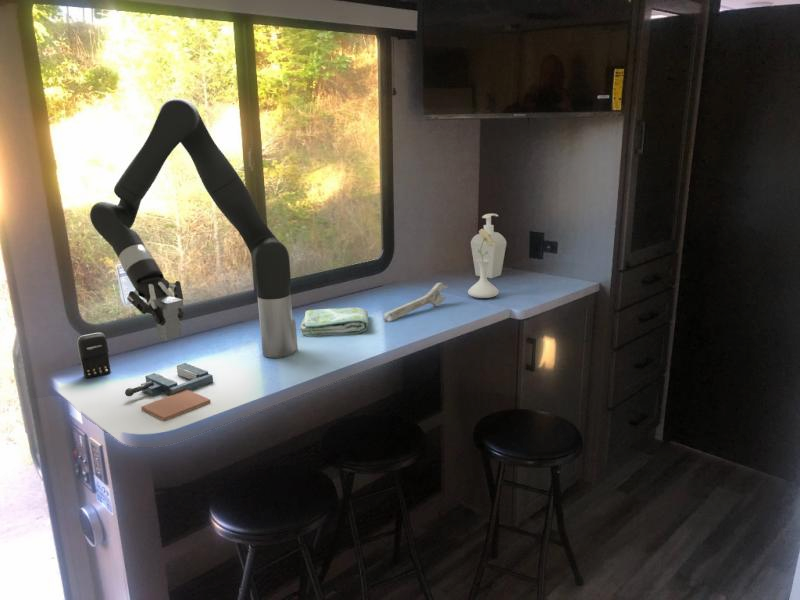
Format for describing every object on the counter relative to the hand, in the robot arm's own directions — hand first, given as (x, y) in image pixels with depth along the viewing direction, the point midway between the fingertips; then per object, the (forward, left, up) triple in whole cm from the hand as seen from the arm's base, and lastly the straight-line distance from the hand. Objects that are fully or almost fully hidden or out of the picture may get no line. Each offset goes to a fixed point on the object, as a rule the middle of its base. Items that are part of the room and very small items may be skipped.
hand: (172, 320), depth 154 cm
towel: (-58, -4, -19) cm, 61 cm away
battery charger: (+9, -27, -18) cm, 33 cm away
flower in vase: (-116, +15, -18) cm, 119 cm away
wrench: (-86, +8, -18) cm, 88 cm away
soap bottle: (-146, -1, -18) cm, 148 cm away
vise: (+3, -3, -18) cm, 18 cm away
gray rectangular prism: (0, -1, -5) cm, 5 cm away
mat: (+7, +9, -18) cm, 21 cm away
